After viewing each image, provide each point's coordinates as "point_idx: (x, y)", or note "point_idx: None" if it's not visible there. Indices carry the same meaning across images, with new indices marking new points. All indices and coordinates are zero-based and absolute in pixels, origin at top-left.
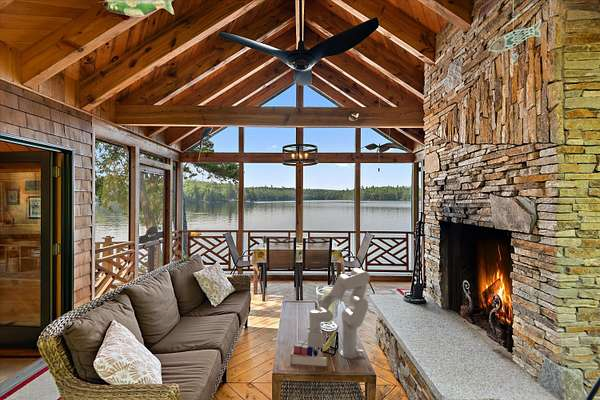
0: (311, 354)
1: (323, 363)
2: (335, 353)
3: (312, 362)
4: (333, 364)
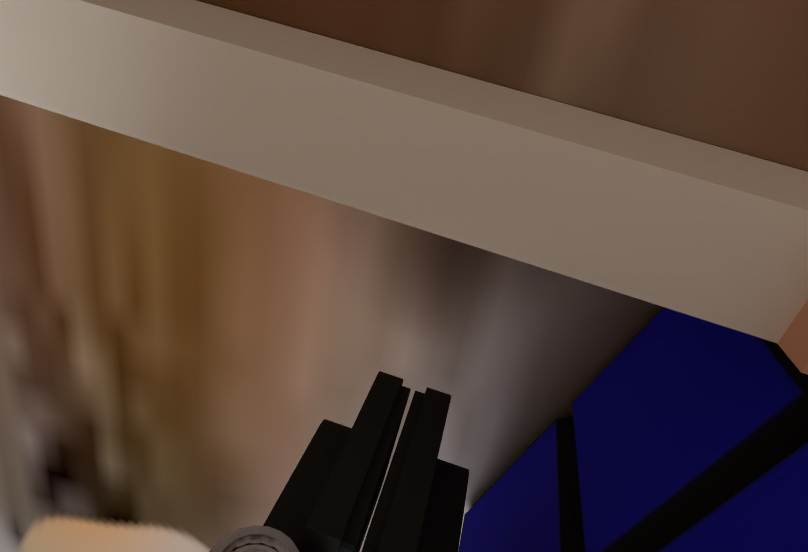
0: (504, 545)
1: (207, 10)
2: (35, 483)
3: (593, 118)
4: None
